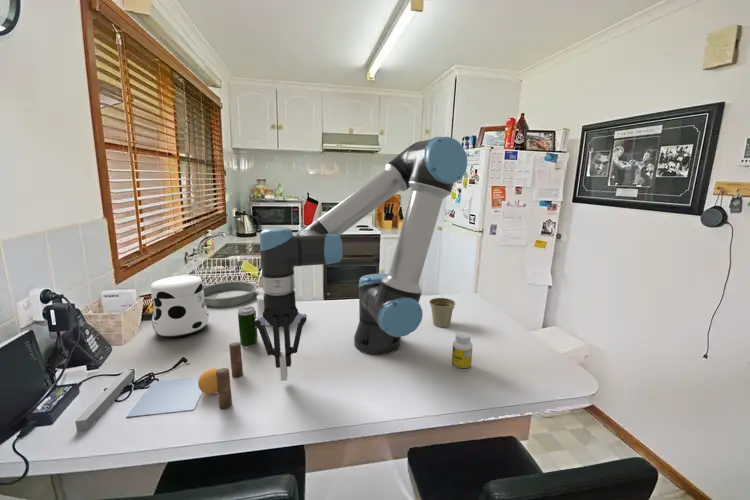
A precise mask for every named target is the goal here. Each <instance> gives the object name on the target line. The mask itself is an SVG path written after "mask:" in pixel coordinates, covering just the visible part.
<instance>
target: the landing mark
mask: <svg viewBox="0 0 750 500" xmlns="http://www.w3.org/2000/svg"><path fill="white" fill-rule="evenodd" d="M199 378H200V376H199V377H188V378H175V379H166V380H164V379H163V380H156V382H154V381H153V382H154V383H153V382H152V383H151V384H150V386H149V387H148V388H147V389H146V390H145V392H144V394H143V395H142V396H141V397H140V399H139V400H138V401H137V402H136V404H135V405H134V406H133V408H132V409H131V410H130V411H129V413H128V414H127V415H126V417H125V418H133V417H134V418H135V417H136V418H137V417H145V416H152V415H153V416H154V415H163V414H171V413H181V412H189V411H190V412H191V411H192V412H193V411H194V410H195V408H196V406H197V405H198V403H199V400H200V398H201V396H202V395H203V394H204V393H203V392H202V391H201V390H200V389H199V386H198V380H199Z"/></svg>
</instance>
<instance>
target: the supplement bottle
mask: <svg viewBox="0 0 750 500" xmlns="http://www.w3.org/2000/svg"><path fill="white" fill-rule="evenodd" d="M472 360H473V343H472V342H471V334H470V333H468V332H466V331H465V332H464V331H459V332H456V333H455V340H453V342H452V355H451V366H452V367H453V368H454V369H455V370H457V371H459V372H466V371H467V372H468V371H469V370H471V369H472Z"/></svg>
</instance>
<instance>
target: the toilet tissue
mask: <svg viewBox="0 0 750 500" xmlns="http://www.w3.org/2000/svg"><path fill="white" fill-rule="evenodd" d="M264 293H265V292H264V291H263V292H261V293H258V294H257V295H256V305H257V317H260V316H262V315H263V312H264ZM265 326H266V327H272V326H271V325H270V324H269V323H268V322H267V321H266V320H265Z"/></svg>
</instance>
